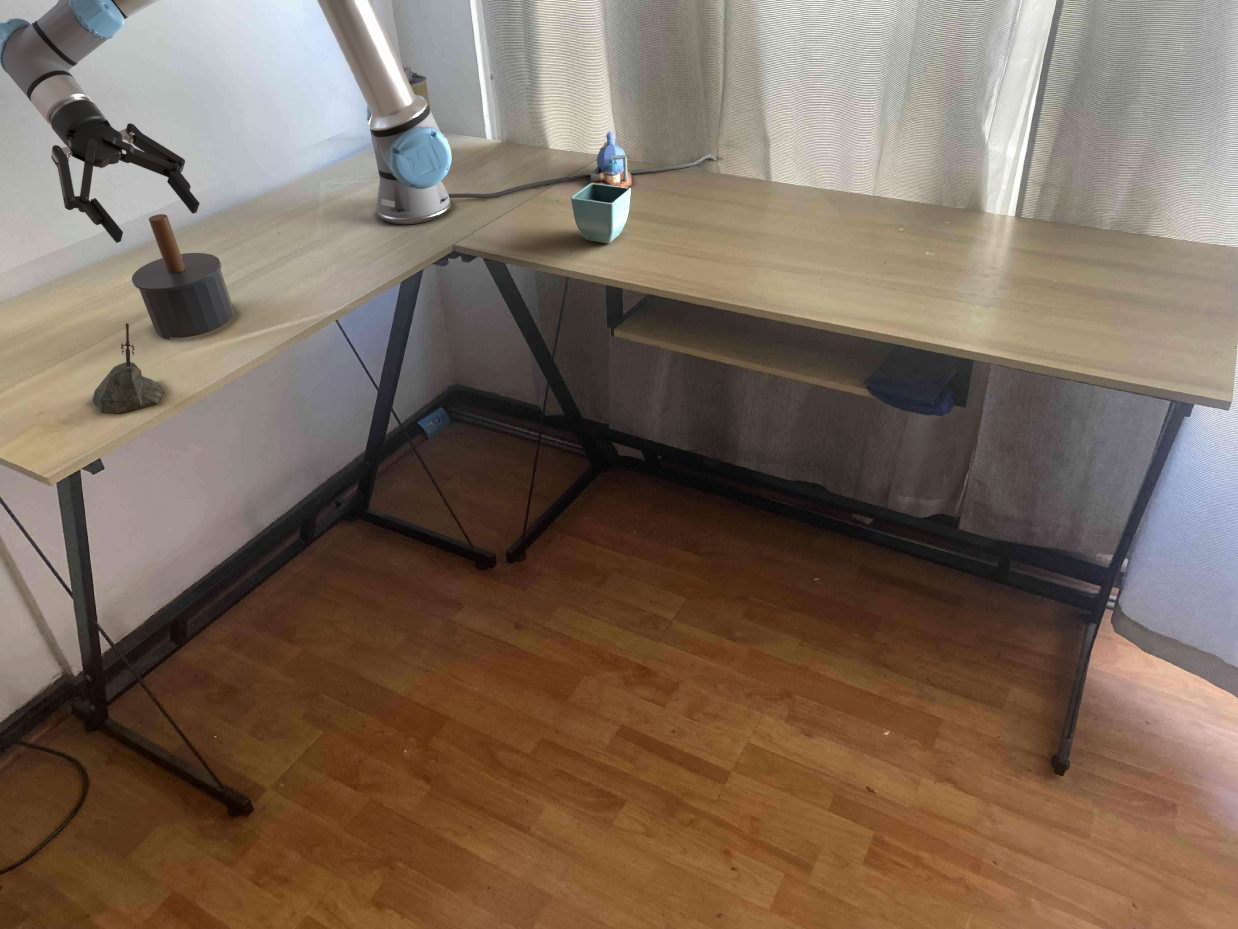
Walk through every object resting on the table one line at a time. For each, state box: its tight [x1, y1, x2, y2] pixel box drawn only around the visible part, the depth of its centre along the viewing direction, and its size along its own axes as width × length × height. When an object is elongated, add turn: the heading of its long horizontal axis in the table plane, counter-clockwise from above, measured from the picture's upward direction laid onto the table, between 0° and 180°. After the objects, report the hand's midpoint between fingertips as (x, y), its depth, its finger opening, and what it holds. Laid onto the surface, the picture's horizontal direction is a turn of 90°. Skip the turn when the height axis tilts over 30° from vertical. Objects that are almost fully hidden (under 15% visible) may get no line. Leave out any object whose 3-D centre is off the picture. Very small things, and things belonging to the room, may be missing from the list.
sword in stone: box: [92, 322, 164, 414], centre depth 134 cm, size 10×8×12 cm
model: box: [589, 131, 633, 188], centre depth 201 cm, size 12×9×9 cm
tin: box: [138, 268, 235, 341], centre depth 154 cm, size 13×13×9 cm
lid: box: [131, 213, 222, 292], centre depth 149 cm, size 14×14×10 cm
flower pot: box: [570, 183, 632, 244], centre depth 175 cm, size 9×9×9 cm
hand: (159, 222), depth 147 cm, fingers open, 13 cm apart
